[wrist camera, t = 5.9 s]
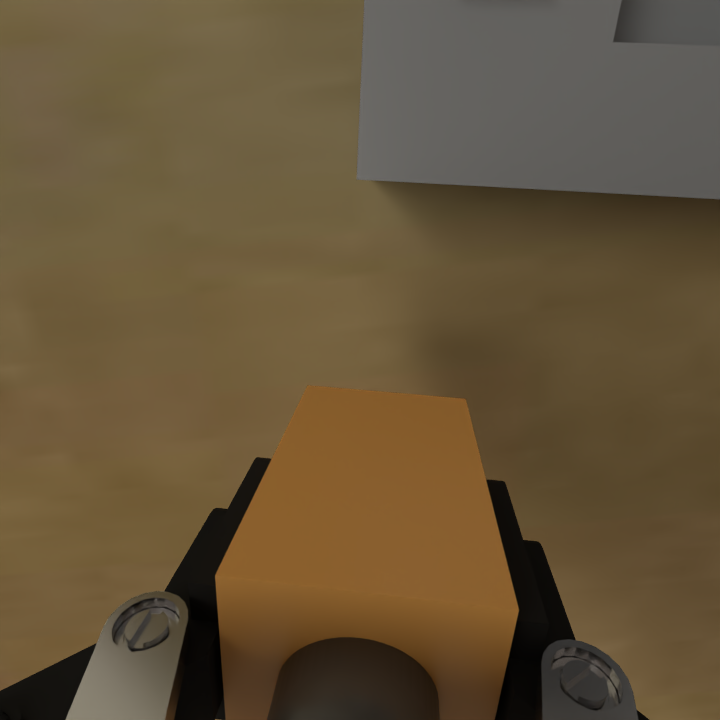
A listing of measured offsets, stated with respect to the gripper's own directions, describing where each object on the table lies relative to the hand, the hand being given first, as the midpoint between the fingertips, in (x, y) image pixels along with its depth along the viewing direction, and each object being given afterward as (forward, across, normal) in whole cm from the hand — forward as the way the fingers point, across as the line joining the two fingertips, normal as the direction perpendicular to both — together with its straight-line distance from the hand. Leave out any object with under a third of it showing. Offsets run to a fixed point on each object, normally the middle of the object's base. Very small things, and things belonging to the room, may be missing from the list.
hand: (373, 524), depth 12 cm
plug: (+3, 0, 0) cm, 3 cm away
